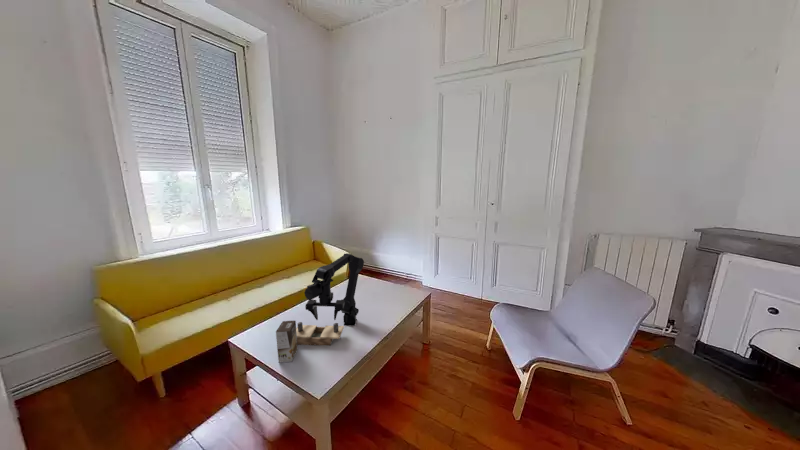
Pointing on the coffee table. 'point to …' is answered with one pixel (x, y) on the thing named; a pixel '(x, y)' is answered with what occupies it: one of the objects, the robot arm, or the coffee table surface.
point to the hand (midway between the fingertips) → (326, 319)
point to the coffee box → (286, 341)
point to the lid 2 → (332, 332)
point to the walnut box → (315, 339)
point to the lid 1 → (305, 330)
